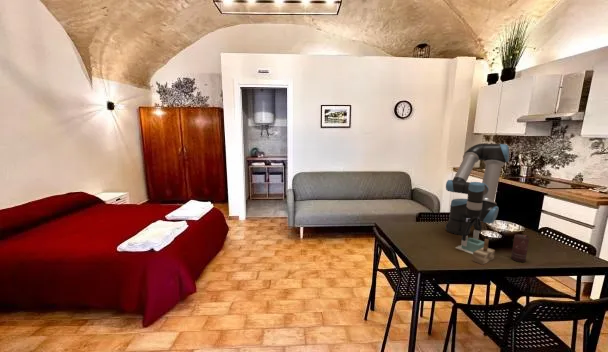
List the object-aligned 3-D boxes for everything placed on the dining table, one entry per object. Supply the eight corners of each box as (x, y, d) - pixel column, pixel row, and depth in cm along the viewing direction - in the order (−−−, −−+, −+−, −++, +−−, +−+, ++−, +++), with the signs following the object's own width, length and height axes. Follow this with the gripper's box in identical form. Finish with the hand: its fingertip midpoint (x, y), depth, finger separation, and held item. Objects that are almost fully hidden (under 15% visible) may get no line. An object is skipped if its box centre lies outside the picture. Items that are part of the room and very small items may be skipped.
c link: (485, 250, 152) (486, 242, 151) (478, 254, 147) (479, 245, 146) (469, 244, 159) (470, 237, 158) (461, 248, 154) (462, 240, 154)
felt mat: (466, 243, 163) (466, 242, 163) (492, 251, 151) (492, 251, 151) (455, 248, 155) (455, 247, 155) (480, 257, 144) (480, 256, 143)
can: (528, 261, 140) (532, 236, 137) (520, 263, 138) (524, 238, 136) (516, 256, 145) (520, 232, 143) (508, 257, 144) (511, 233, 141)
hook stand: (483, 255, 146) (486, 235, 145) (493, 258, 142) (496, 238, 140) (472, 260, 139) (474, 240, 138) (482, 264, 135) (485, 243, 133)
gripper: (477, 204, 161) (473, 236, 165) (455, 210, 148) (452, 245, 151) (491, 207, 155) (486, 240, 158) (470, 213, 142) (465, 250, 145)
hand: (469, 243), depth 155 cm, fingers open, 13 cm apart
